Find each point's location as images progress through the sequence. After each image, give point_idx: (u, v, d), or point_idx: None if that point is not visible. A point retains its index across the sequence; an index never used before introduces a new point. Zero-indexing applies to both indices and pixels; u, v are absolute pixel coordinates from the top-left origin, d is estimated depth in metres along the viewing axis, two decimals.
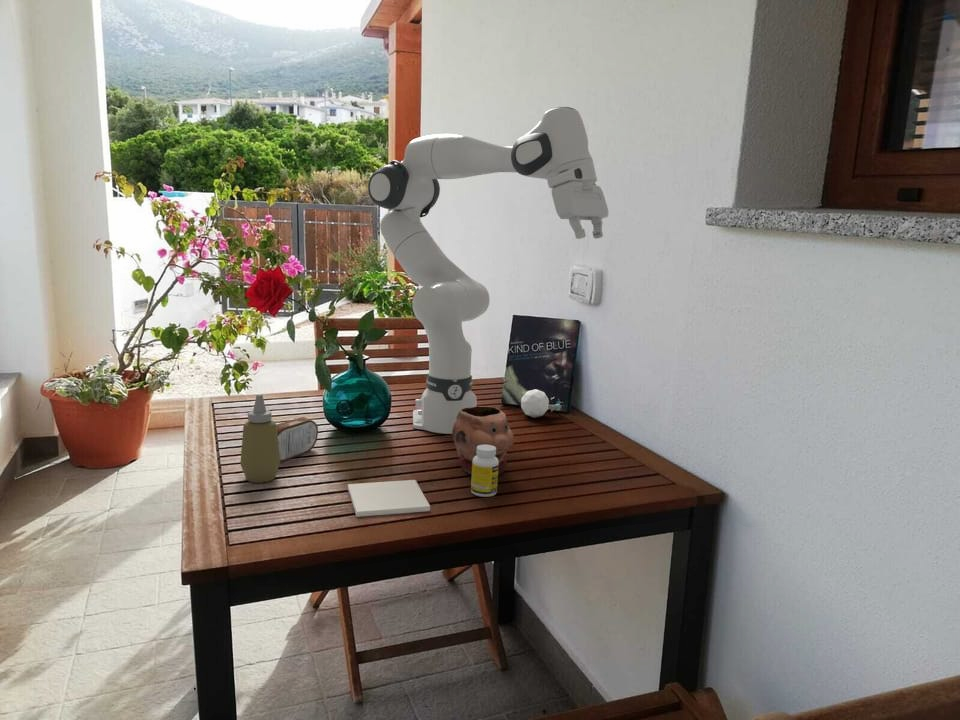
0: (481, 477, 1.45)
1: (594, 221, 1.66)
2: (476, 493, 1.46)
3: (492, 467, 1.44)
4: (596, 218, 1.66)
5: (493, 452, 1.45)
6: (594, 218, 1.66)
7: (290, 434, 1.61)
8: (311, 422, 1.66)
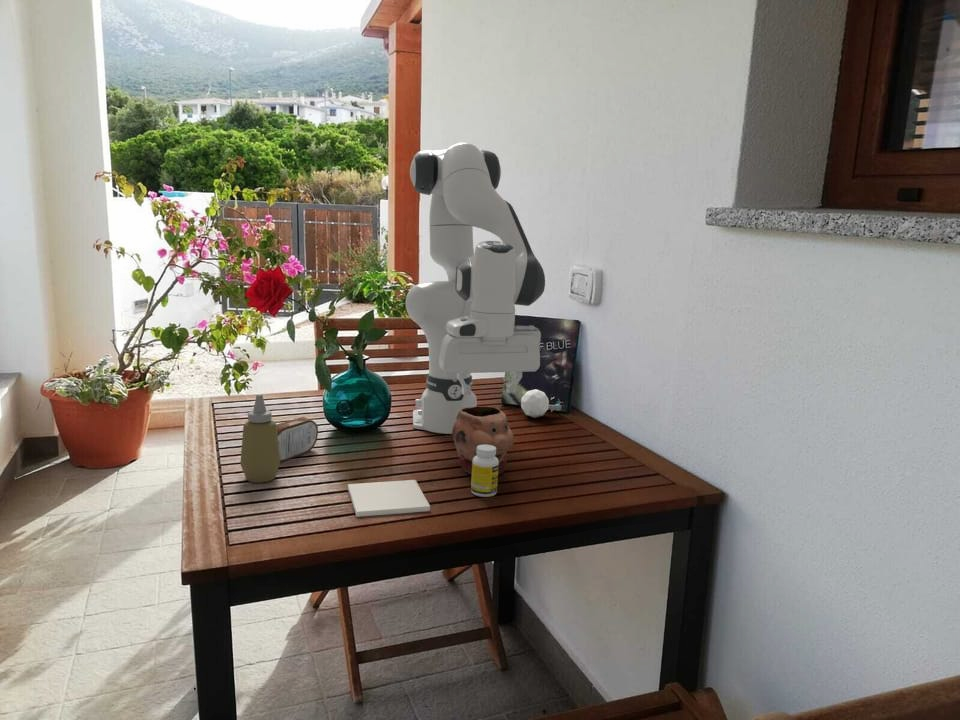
0: (481, 477, 1.45)
1: (513, 373, 1.45)
2: (476, 493, 1.46)
3: (492, 467, 1.44)
4: None
5: (493, 452, 1.45)
6: None
7: (290, 434, 1.61)
8: (311, 422, 1.66)
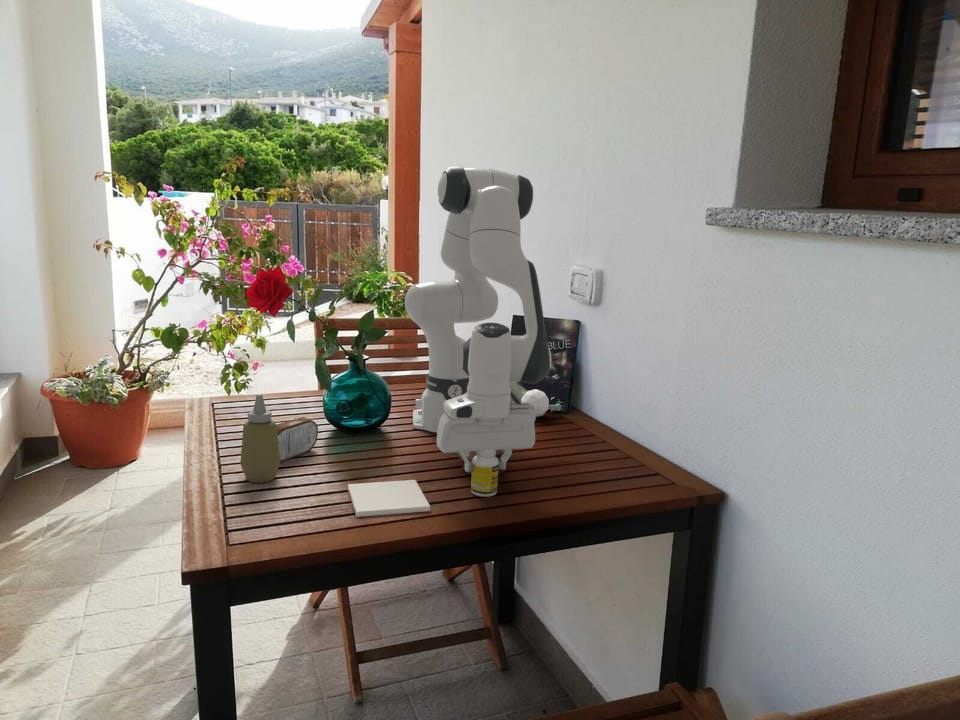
0: (481, 477, 1.44)
1: (503, 449, 1.48)
2: (476, 493, 1.46)
3: (492, 467, 1.44)
4: None
5: (493, 452, 1.45)
6: None
7: (290, 434, 1.61)
8: (311, 422, 1.66)
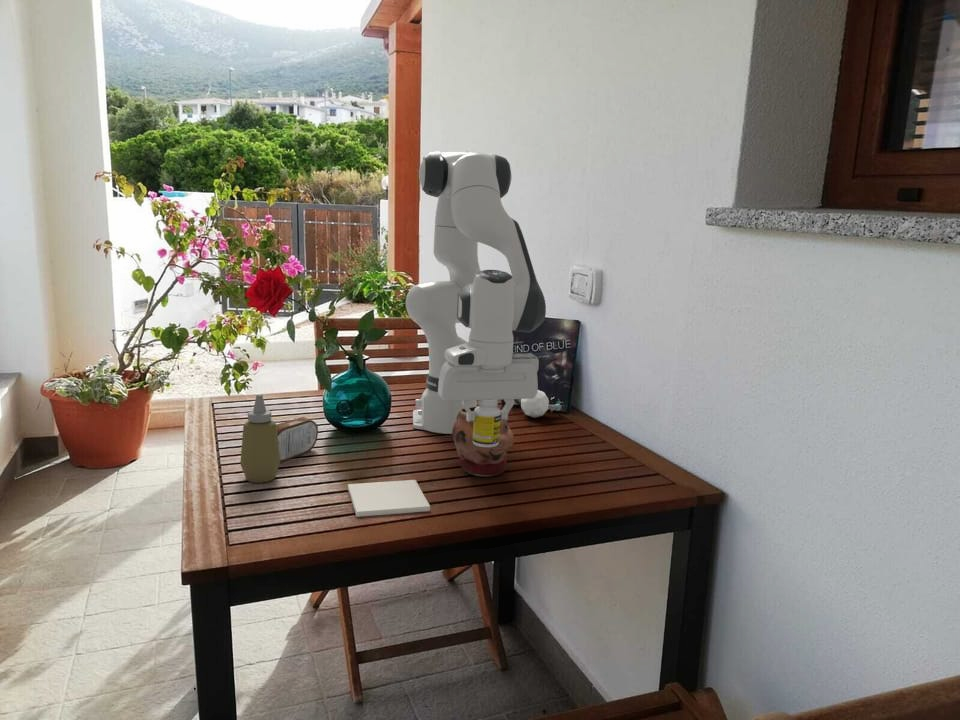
0: (483, 427, 1.43)
1: (505, 400, 1.46)
2: (478, 444, 1.44)
3: (494, 417, 1.42)
4: (506, 398, 1.45)
5: (495, 402, 1.43)
6: None
7: (290, 434, 1.61)
8: (311, 422, 1.66)
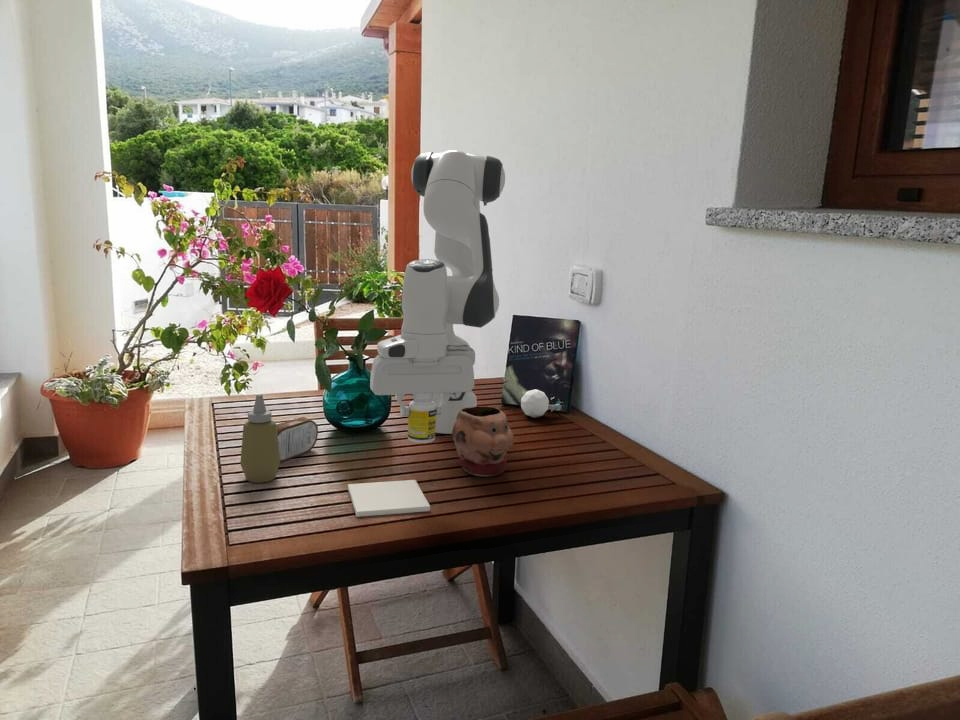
0: (417, 422, 1.38)
1: (441, 394, 1.41)
2: (412, 439, 1.39)
3: (428, 411, 1.38)
4: None
5: (430, 396, 1.38)
6: None
7: (290, 434, 1.61)
8: (311, 422, 1.66)
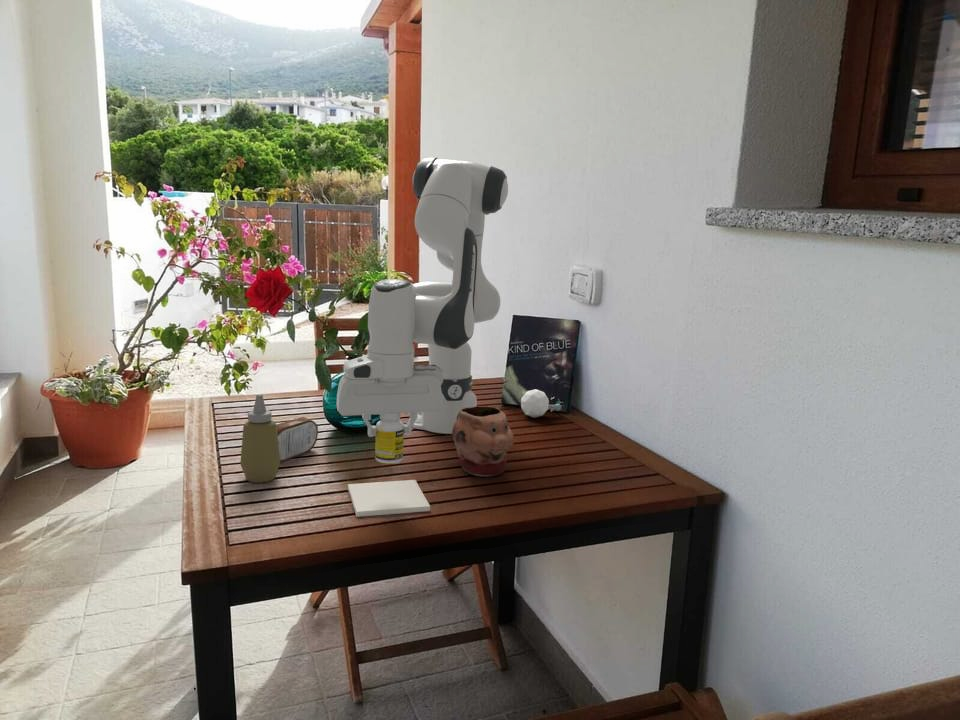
0: (384, 443, 1.37)
1: (409, 413, 1.40)
2: (379, 459, 1.38)
3: (395, 432, 1.37)
4: None
5: (397, 416, 1.37)
6: None
7: (290, 434, 1.61)
8: (311, 422, 1.66)
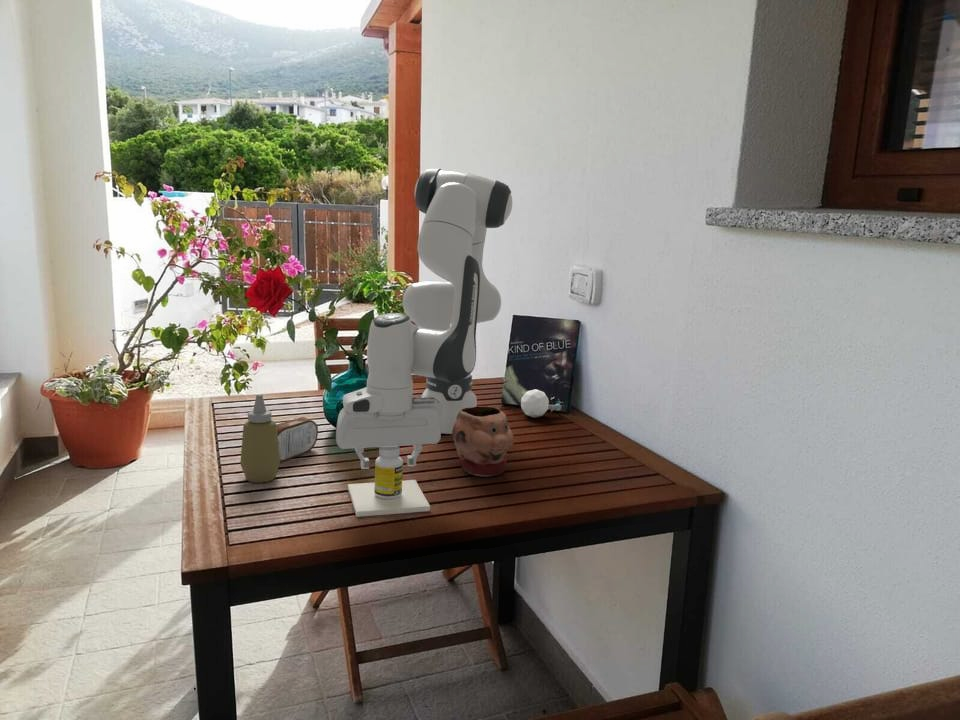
0: (383, 479, 1.39)
1: (413, 445, 1.42)
2: (379, 495, 1.40)
3: (394, 468, 1.38)
4: None
5: (396, 453, 1.39)
6: None
7: (290, 434, 1.61)
8: (311, 422, 1.66)
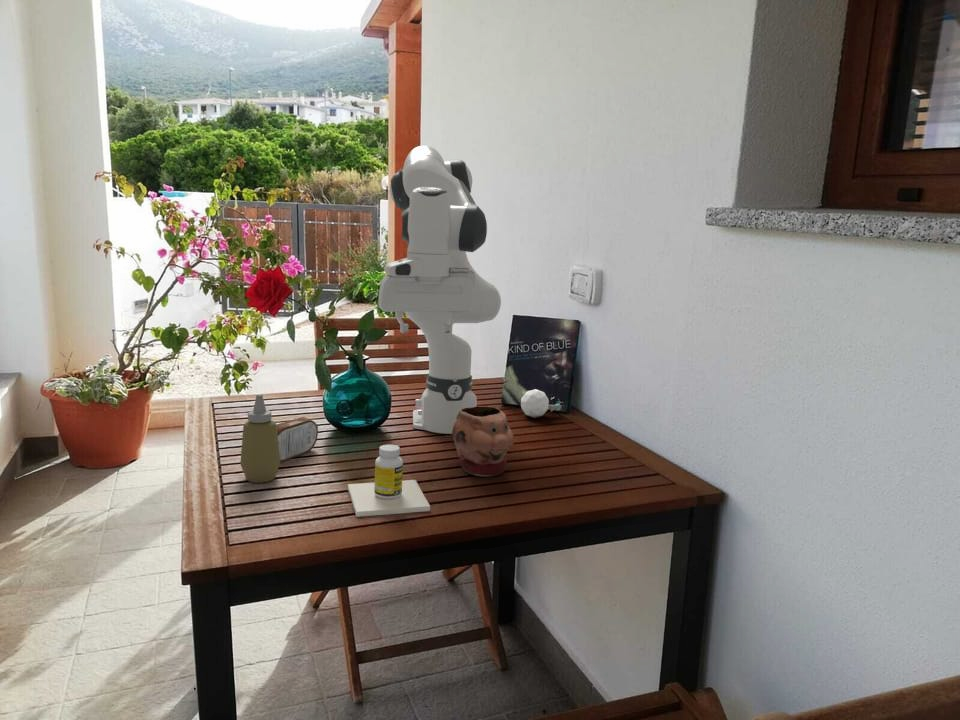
0: (383, 479, 1.39)
1: (450, 313, 1.53)
2: (379, 495, 1.40)
3: (394, 468, 1.38)
4: (450, 311, 1.52)
5: (396, 453, 1.39)
6: None
7: (290, 434, 1.61)
8: (311, 422, 1.66)
